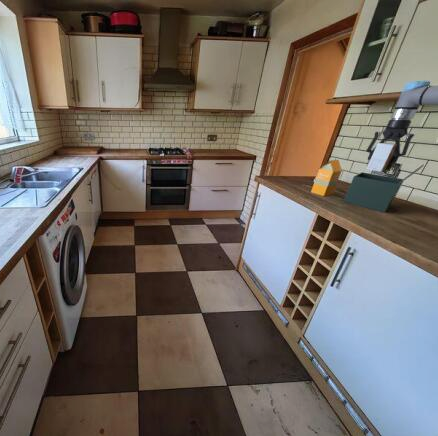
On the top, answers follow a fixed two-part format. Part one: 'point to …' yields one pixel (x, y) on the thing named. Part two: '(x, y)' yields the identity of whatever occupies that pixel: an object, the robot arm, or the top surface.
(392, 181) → the dark green open bin
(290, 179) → the top surface
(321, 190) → the orange juice
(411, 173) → the flap
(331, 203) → the top surface
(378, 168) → the small box
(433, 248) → the top surface
